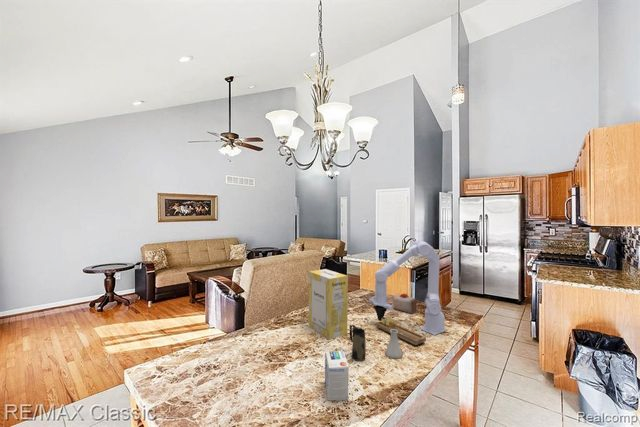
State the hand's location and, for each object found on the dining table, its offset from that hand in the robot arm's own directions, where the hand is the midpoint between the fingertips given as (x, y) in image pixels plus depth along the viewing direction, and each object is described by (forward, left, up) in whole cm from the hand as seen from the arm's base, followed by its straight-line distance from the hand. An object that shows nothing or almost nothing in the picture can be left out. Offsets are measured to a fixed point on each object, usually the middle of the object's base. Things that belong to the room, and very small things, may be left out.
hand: (380, 320), depth 149 cm
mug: (+30, +17, -3) cm, 34 cm away
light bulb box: (+50, +30, -3) cm, 58 cm away
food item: (-29, -9, -3) cm, 31 cm away
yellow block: (0, +5, -1) cm, 5 cm away
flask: (+16, +24, -3) cm, 29 cm away
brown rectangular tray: (0, +13, -3) cm, 13 cm away
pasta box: (+25, -11, -3) cm, 28 cm away
